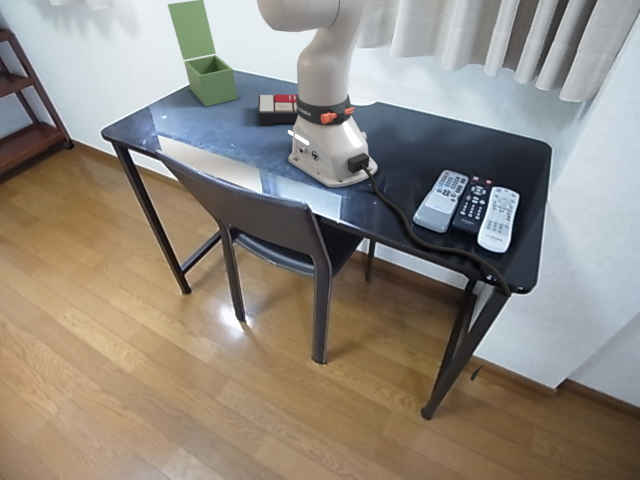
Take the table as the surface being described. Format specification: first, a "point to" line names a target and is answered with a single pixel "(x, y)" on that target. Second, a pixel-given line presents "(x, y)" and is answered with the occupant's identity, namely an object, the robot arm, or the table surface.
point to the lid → (192, 28)
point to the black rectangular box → (277, 109)
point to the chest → (211, 80)
